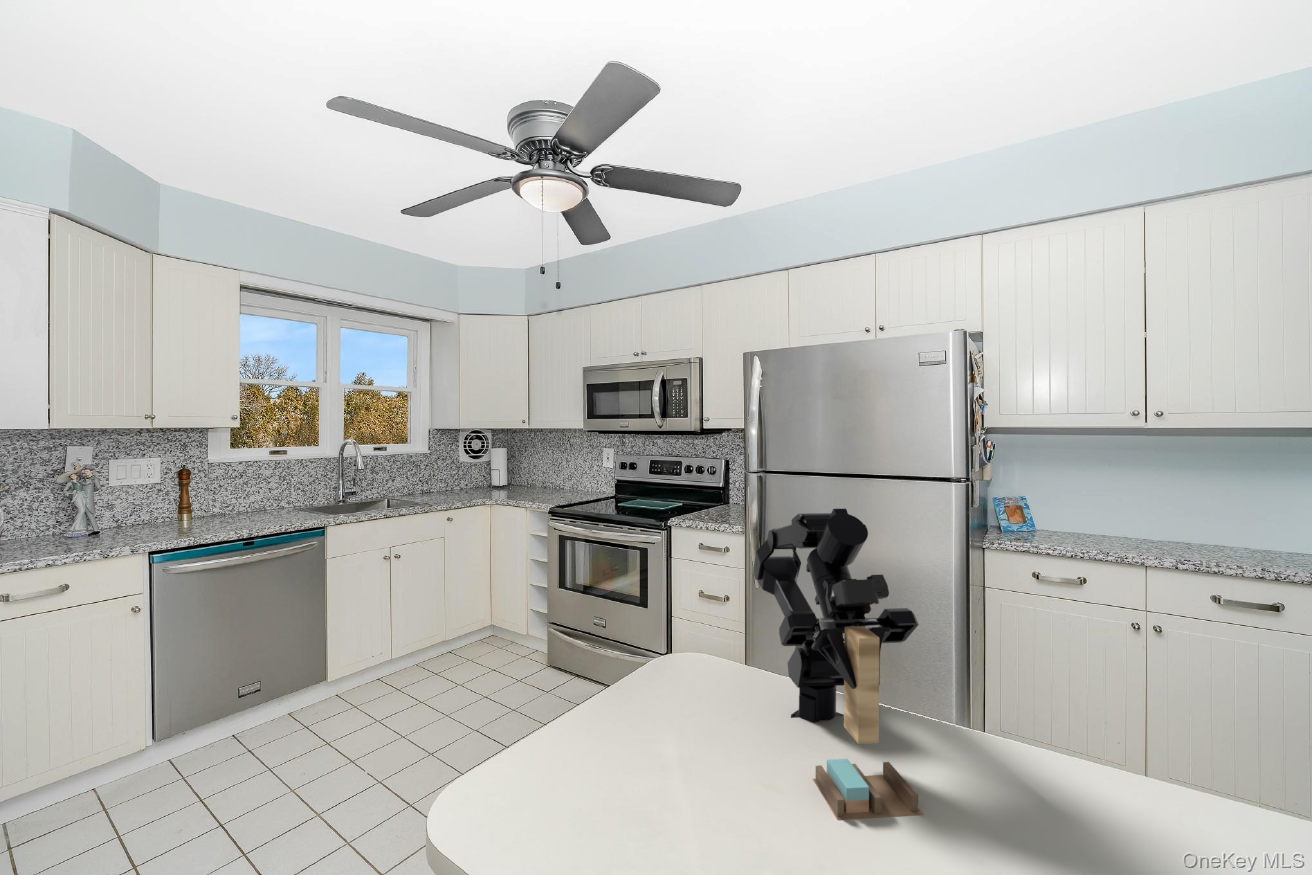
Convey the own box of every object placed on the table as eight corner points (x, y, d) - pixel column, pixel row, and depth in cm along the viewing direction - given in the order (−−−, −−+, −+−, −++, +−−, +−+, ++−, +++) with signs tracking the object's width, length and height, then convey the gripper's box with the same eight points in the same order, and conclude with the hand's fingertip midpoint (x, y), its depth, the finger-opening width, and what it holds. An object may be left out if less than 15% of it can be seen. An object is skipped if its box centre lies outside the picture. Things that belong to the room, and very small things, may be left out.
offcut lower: (826, 782, 74) (826, 771, 74) (847, 781, 74) (847, 769, 74) (846, 813, 68) (846, 800, 68) (868, 811, 68) (868, 799, 68)
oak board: (843, 726, 80) (844, 626, 80) (863, 725, 80) (863, 626, 80) (858, 743, 75) (859, 638, 75) (878, 742, 75) (879, 637, 75)
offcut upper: (826, 771, 74) (826, 759, 74) (847, 769, 74) (847, 758, 74) (846, 800, 68) (846, 788, 68) (868, 799, 68) (869, 786, 68)
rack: (812, 786, 75) (812, 763, 75) (889, 781, 76) (889, 759, 76) (837, 828, 67) (837, 802, 67) (923, 822, 68) (923, 797, 68)
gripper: (785, 554, 80) (814, 664, 70) (911, 552, 82) (958, 659, 71) (769, 594, 88) (792, 698, 77) (884, 592, 90) (923, 693, 79)
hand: (865, 687), depth 76 cm, fingers closed on oak board, 3 cm apart
